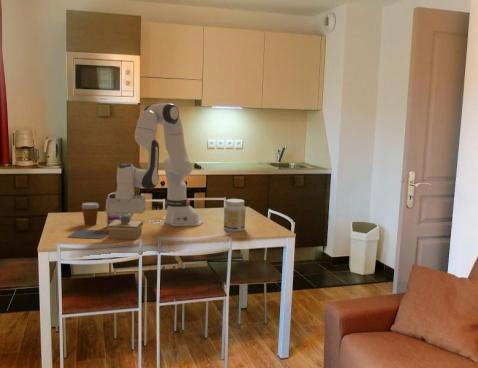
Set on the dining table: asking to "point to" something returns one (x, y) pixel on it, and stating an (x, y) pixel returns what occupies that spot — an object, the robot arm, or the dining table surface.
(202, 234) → the dining table surface
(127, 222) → the lid
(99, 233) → the mat
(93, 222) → the disposable coffee cup
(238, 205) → the supplement tub
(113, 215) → the candy bar box
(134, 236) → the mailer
